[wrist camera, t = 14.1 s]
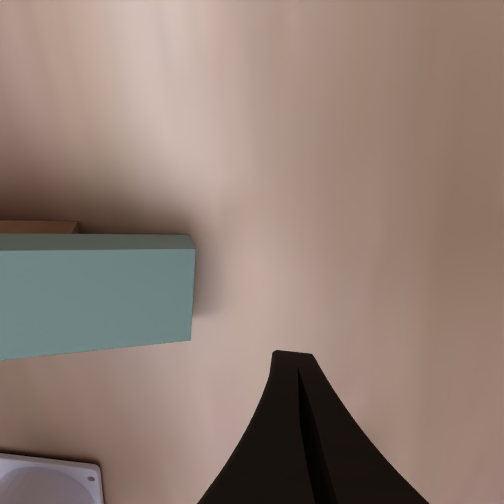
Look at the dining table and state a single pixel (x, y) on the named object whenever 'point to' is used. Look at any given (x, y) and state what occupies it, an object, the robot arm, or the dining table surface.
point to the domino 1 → (38, 227)
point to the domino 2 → (93, 292)
